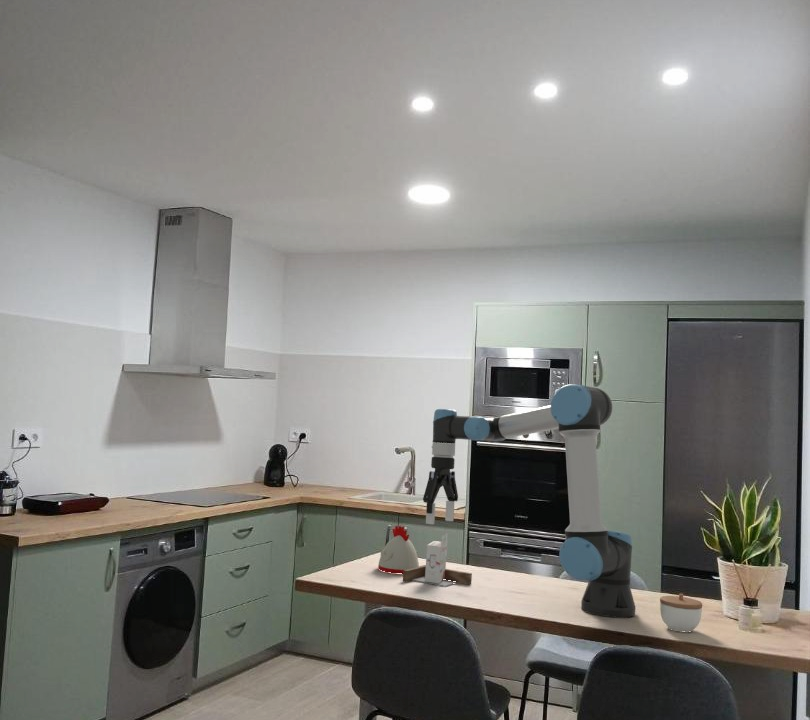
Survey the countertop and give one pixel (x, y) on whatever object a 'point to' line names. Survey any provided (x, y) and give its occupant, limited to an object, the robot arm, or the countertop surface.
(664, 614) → the lidded jar
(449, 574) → the corner walls
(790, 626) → the countertop surface
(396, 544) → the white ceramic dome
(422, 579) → the pad
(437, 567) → the ink cartridge box
